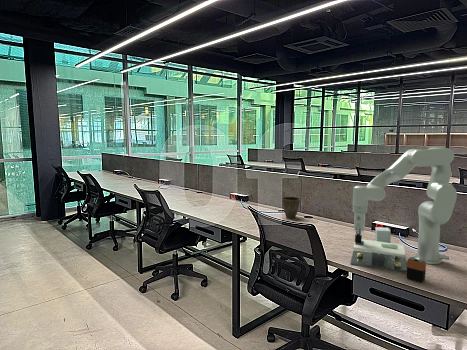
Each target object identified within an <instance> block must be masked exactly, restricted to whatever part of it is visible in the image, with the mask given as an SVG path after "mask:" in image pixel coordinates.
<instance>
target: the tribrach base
mask: <svg viewBox="0 0 467 350" xmlns="http://www.w3.org/2000/svg"><path fill="white" fill-rule="evenodd" d="M405 258H406V256H405V257H400V256H393V255H387V254H379V255H378V254H377V253H374V252H367V251H361V250H354V249H353V252H352V256H351V259H350V265H352V266H353V265H354V266H358V267H366V268H373V269H378V270H379V269H380V270H387V271H392V272H393V271H394V272H401V273H407V260H406V259H405Z"/></svg>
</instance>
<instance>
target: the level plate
mask: <svg viewBox="0 0 467 350" xmlns="http://www.w3.org/2000/svg"><path fill="white" fill-rule="evenodd" d="M353 250H356V251H364V252H374V253H377V254H378V255H379V254H387V255H393V256H400V257H405V258H406V251H405V246H404V244H399V243H391V242H390V243H385V242H378V241H375V240H371V239H362V240H361V243H358V242H355V241H354V244H353Z"/></svg>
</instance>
